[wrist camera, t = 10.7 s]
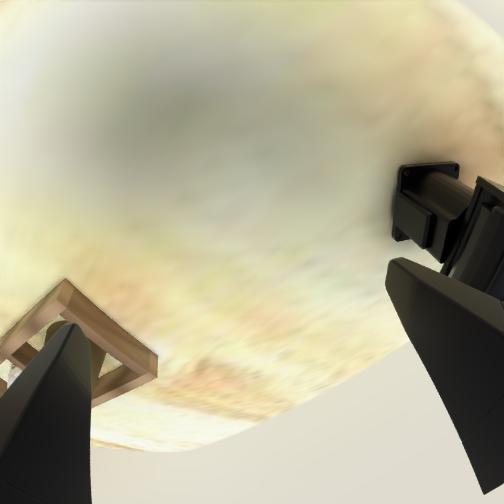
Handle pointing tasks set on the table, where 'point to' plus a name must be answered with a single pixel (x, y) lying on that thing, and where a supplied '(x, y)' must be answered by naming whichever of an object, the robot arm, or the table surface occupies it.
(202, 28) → the table surface
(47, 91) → the table surface
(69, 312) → the crate
